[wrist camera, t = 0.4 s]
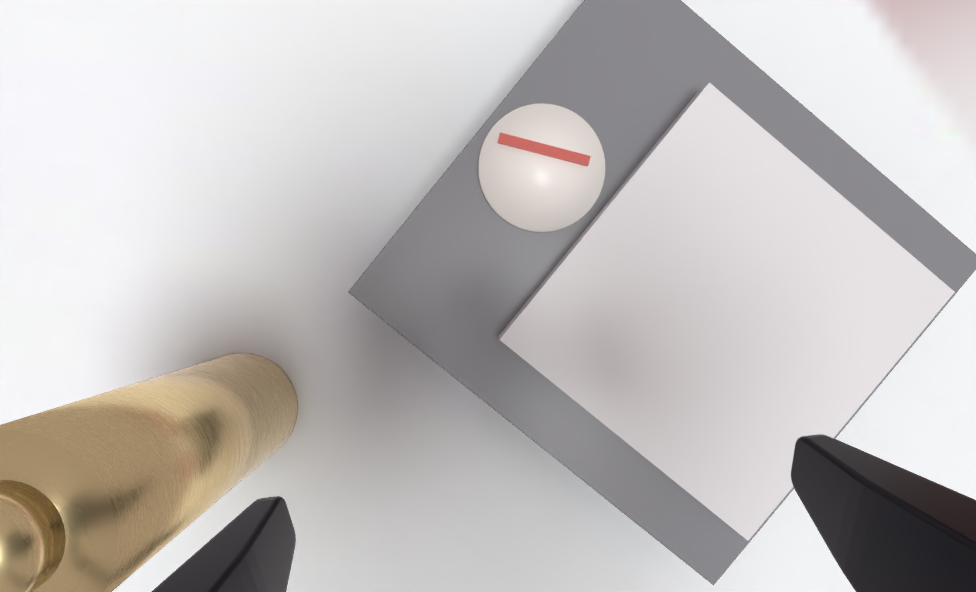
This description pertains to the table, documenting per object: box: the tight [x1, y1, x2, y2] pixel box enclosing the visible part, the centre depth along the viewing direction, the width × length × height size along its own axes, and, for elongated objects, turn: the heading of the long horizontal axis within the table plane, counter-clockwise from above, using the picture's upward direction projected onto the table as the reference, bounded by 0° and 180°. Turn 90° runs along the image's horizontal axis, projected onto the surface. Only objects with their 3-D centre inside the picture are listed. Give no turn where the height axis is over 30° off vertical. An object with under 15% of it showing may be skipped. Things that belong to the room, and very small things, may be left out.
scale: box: [348, 0, 976, 585], centre depth 22 cm, size 18×20×4 cm
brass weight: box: [0, 353, 298, 592], centre depth 17 cm, size 5×5×13 cm
